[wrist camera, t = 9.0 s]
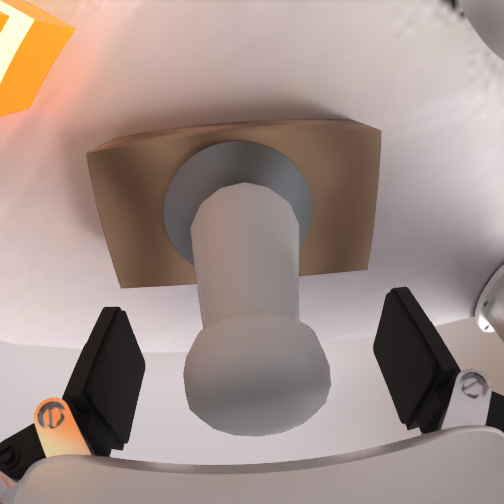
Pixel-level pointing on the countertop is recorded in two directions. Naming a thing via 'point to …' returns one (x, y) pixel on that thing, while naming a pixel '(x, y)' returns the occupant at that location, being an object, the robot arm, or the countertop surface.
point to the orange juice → (26, 52)
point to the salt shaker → (251, 318)
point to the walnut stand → (230, 173)
